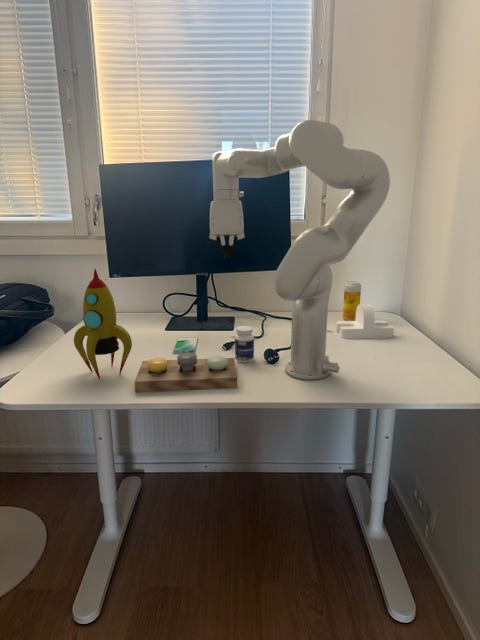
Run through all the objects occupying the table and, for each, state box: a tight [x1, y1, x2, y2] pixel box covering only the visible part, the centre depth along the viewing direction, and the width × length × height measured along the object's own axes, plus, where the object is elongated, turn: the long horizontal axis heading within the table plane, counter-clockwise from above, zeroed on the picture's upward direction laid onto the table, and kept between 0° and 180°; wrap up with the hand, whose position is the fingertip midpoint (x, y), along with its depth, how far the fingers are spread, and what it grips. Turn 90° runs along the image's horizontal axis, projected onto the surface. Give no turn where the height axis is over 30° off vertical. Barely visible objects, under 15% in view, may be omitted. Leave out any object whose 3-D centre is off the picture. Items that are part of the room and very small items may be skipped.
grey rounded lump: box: [176, 353, 198, 372], centre depth 118 cm, size 5×5×5 cm
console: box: [134, 357, 238, 393], centre depth 119 cm, size 26×14×3 cm, turn 94°
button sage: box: [207, 355, 227, 371], centre depth 119 cm, size 5×5×5 cm
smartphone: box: [172, 337, 199, 355], centre depth 145 cm, size 7×1×15 cm
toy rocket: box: [73, 268, 133, 380], centre depth 120 cm, size 12×12×30 cm
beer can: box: [342, 280, 362, 321], centre depth 169 cm, size 6×6×15 cm
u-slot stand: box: [335, 303, 395, 340], centre depth 154 cm, size 10×18×11 cm, turn 92°
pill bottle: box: [234, 325, 255, 363], centre depth 131 cm, size 6×6×10 cm
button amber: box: [147, 357, 168, 373], centre depth 118 cm, size 5×5×5 cm
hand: (227, 258), depth 135 cm, fingers closed
